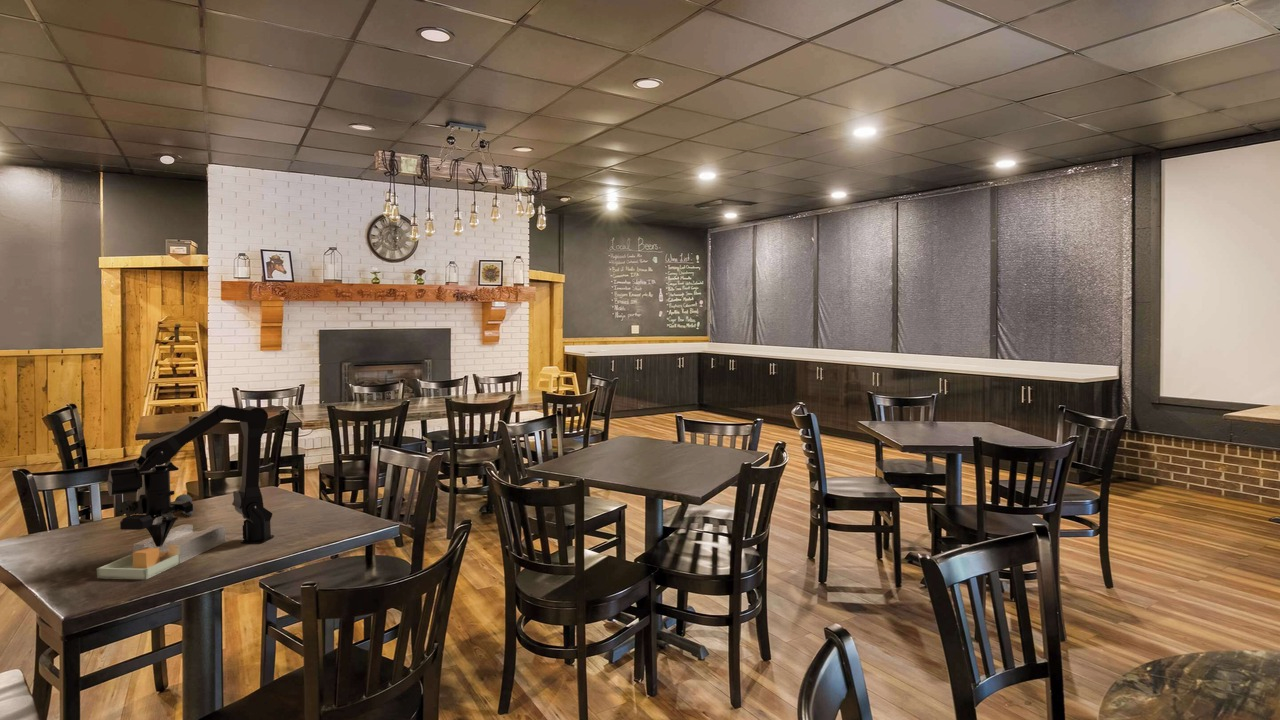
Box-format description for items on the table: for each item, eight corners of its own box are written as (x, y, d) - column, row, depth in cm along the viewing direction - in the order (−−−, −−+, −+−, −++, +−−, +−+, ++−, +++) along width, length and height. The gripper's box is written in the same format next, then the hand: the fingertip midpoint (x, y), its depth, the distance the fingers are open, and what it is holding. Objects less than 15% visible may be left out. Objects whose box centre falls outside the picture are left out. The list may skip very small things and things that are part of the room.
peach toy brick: (159, 547, 180) (146, 553, 176) (159, 562, 180) (146, 568, 176) (145, 547, 180) (132, 552, 176) (146, 562, 181) (133, 567, 177)
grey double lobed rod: (203, 515, 228) (202, 500, 228) (186, 518, 225) (185, 503, 224) (188, 504, 242) (187, 491, 242) (171, 507, 238) (171, 493, 238)
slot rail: (225, 541, 199) (225, 525, 199) (180, 563, 181) (179, 544, 181) (183, 541, 200) (182, 524, 200) (134, 562, 182) (133, 544, 182)
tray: (178, 564, 181) (178, 554, 181) (146, 579, 170) (145, 569, 170) (132, 563, 182) (132, 553, 182) (97, 578, 171) (96, 568, 171)
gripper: (156, 480, 192) (158, 535, 192) (98, 497, 173) (101, 557, 174) (193, 481, 191) (195, 535, 192) (140, 497, 172) (142, 558, 173)
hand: (159, 546), depth 183 cm, fingers closed
